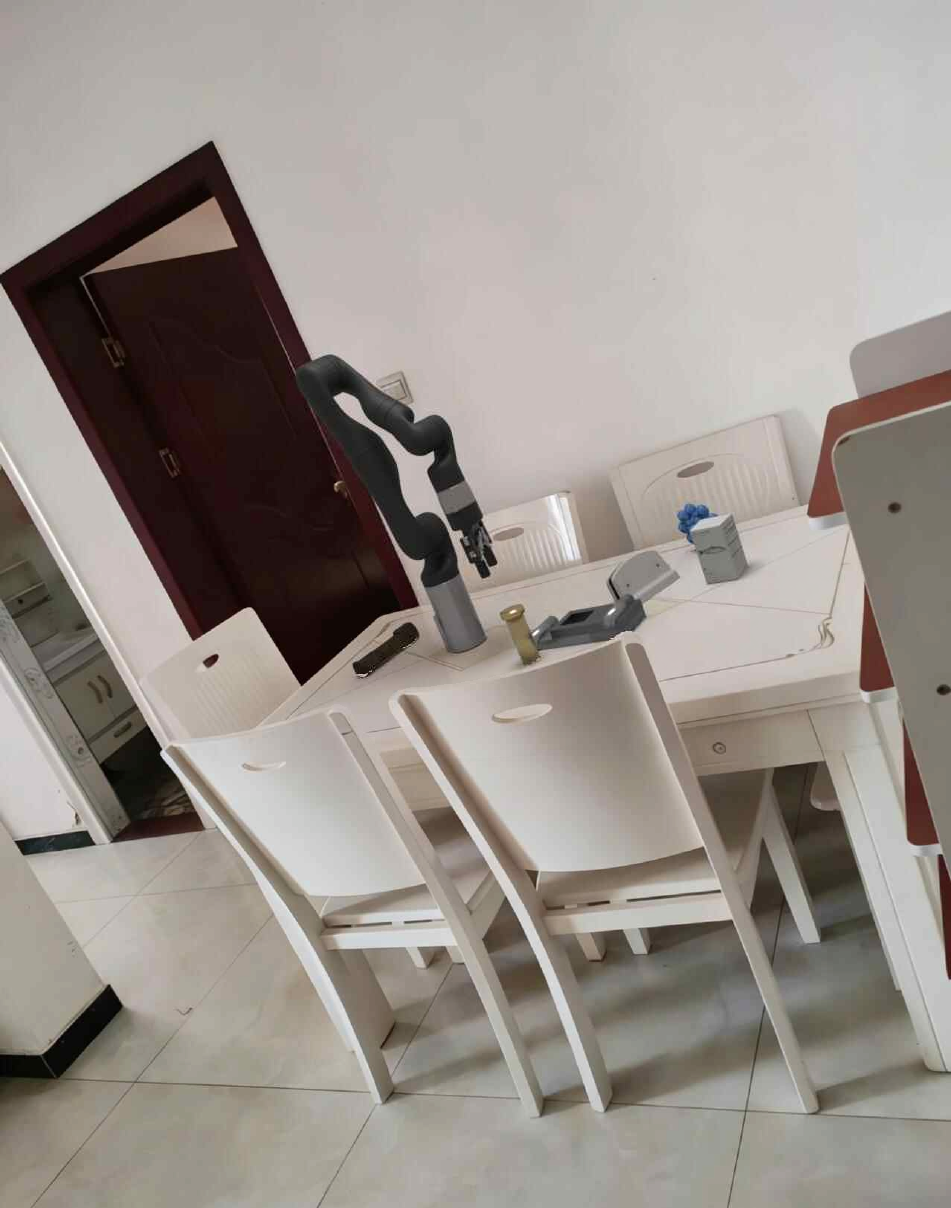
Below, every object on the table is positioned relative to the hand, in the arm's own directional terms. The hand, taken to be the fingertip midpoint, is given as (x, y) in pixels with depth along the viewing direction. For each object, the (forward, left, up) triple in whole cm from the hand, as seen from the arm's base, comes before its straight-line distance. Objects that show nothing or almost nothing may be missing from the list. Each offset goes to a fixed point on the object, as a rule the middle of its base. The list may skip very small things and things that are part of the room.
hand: (490, 571), depth 210 cm
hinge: (+25, +18, -18) cm, 36 cm away
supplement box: (+44, +20, -18) cm, 51 cm away
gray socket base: (+18, -1, -18) cm, 25 cm away
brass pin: (+10, -11, -18) cm, 23 cm away
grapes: (+32, +40, -18) cm, 54 cm away
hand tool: (-43, +4, -18) cm, 47 cm away
